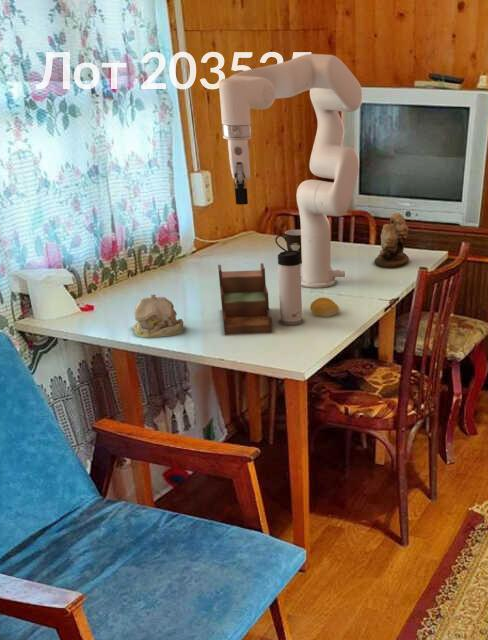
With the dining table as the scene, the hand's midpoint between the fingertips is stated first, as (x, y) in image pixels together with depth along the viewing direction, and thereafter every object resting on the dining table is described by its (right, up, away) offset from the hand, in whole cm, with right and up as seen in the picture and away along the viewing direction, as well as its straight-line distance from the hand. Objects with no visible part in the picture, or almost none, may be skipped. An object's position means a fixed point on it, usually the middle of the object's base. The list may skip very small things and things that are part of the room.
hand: (241, 200), depth 206 cm
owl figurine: (+44, +5, +65) cm, 78 cm away
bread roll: (+22, -27, +16) cm, 38 cm away
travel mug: (+13, -32, +8) cm, 35 cm away
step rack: (0, -32, +8) cm, 33 cm away
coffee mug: (+8, +5, +64) cm, 65 cm away
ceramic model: (-23, -36, 0) cm, 43 cm away
